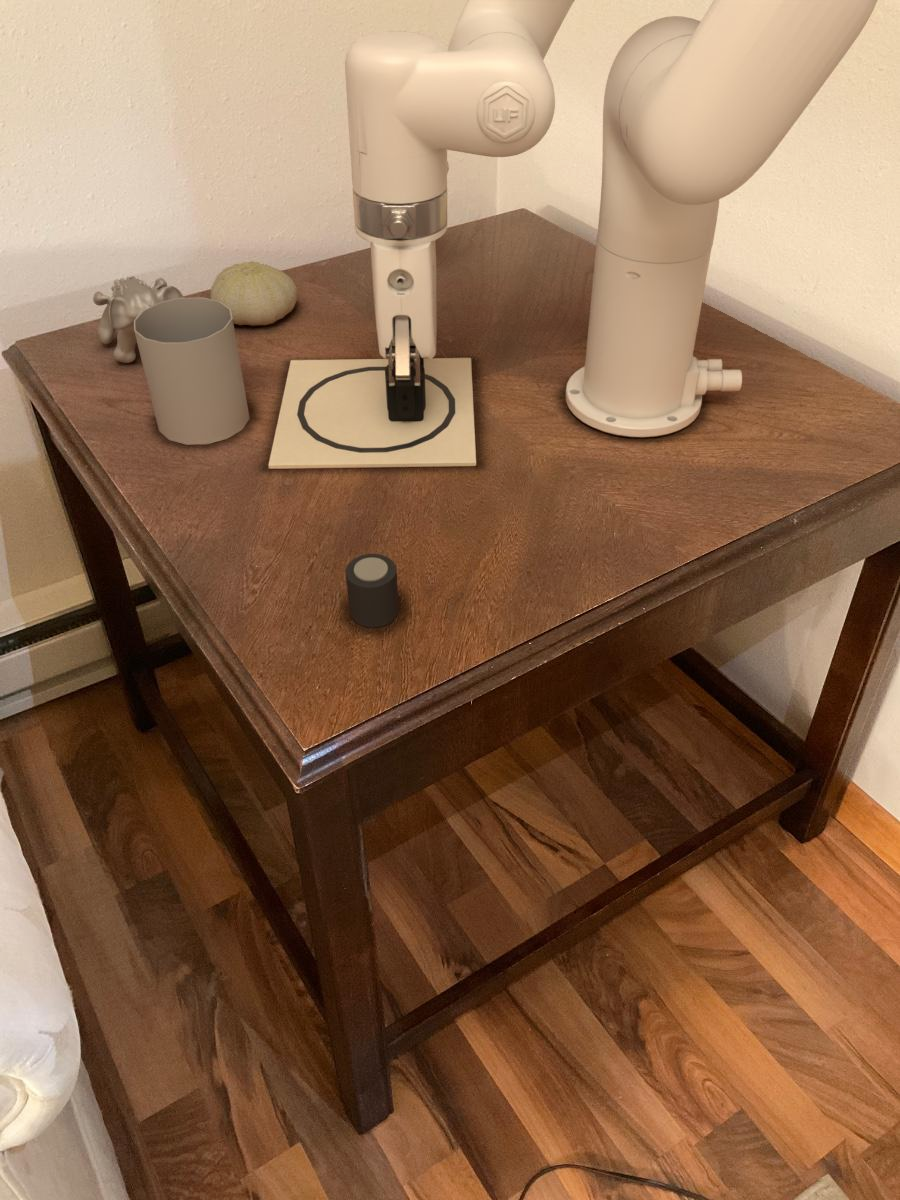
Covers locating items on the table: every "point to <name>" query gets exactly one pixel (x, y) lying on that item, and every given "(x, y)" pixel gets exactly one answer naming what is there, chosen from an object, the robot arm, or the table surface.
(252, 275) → the sea urchin shell
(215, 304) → the cup
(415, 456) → the board
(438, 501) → the table surface
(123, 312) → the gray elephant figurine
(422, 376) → the black cylinder
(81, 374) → the table surface
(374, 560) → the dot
